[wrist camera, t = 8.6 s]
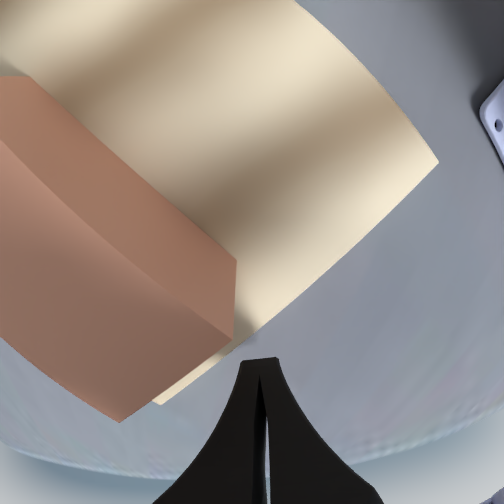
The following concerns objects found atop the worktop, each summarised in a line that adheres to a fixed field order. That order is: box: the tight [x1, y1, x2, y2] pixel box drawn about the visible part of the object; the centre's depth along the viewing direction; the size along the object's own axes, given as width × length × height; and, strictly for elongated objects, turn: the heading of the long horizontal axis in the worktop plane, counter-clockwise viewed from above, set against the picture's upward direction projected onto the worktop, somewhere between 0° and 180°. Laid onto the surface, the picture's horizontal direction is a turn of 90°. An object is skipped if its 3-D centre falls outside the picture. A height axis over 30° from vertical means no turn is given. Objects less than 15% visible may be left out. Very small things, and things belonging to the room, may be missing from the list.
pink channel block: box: [0, 76, 237, 423], centre depth 8 cm, size 10×6×4 cm, turn 45°
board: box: [0, 0, 439, 405], centre depth 8 cm, size 20×16×3 cm
